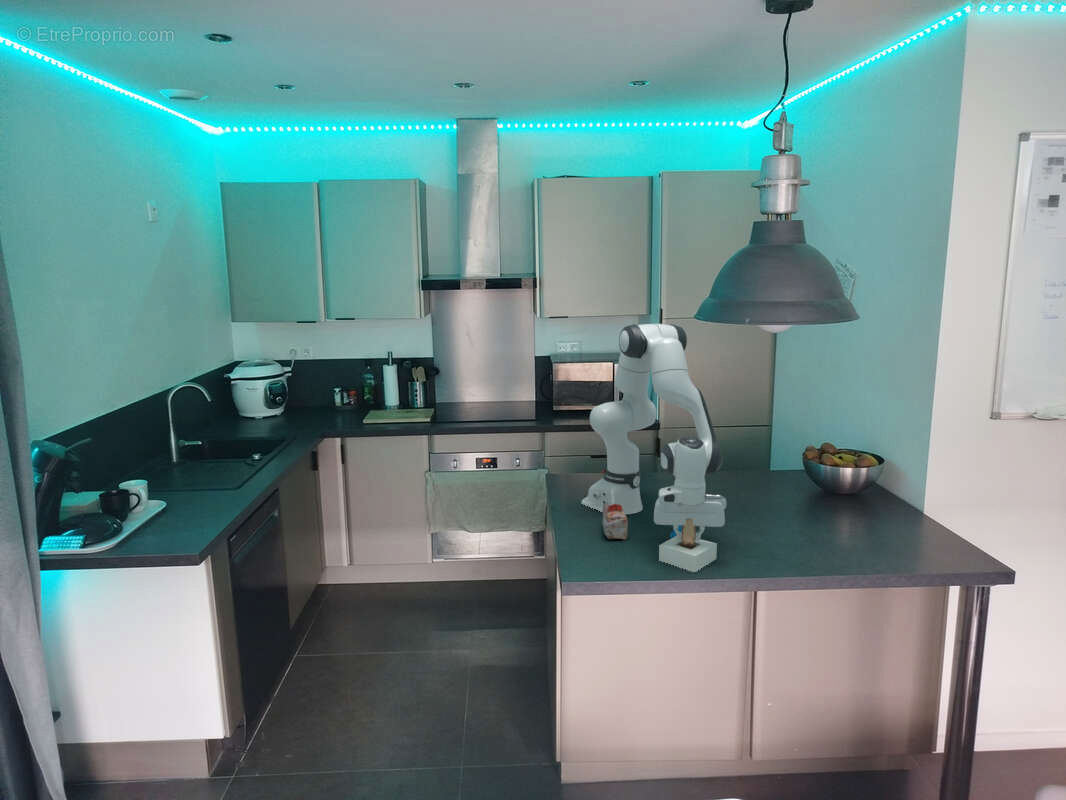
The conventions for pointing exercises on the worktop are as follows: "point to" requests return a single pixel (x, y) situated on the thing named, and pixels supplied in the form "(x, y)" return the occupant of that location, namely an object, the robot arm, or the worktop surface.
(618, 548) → the worktop surface
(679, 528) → the gear
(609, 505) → the food item
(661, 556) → the fitting block
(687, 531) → the wooden peg
